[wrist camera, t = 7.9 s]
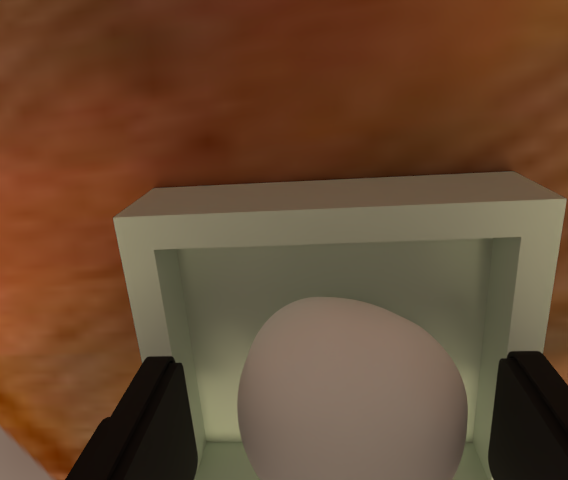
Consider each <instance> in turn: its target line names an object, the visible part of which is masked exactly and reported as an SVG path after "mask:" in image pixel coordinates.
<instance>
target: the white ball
mask: <svg viewBox="0 0 568 480" xmlns="http://www.w3.org/2000/svg"><path fill="white" fill-rule="evenodd" d="M237 413H238V424H239V430H240V435H241V439H242V442H243V446H244V449H245V451H246V454H247V457H248V459H249V461H250V463H251V465H252V467H253V469H254V471H255V472H256V474H257V476H258V477H259V479H260V480H452V479H453V477H454V476H455V473H456V471H457V469H458V466H459V464H460V461H461V458H462V454H463V451H464V446H465V441H466V434H467V419H468V402H467V395H466V390H465V386H464V383H463V380H462V377H461V375H460V373H459V371H458V369H457V367H456V365H455V363H454V362H453V360H452V359H451V357H450V356H449V354H448V353H447V352H446V351H445V349H444V348H443V347H442V346H441V345H440V344H439V343H438V342H437V341H436V340H435V339H434V338H433V337H432V336H431V335H430V334H429V333H428V332H427V331H425V330H424V329H423V328H421V327H420V326H418V325H417V324H415V323H413V322H411V321H409V320H407V319H405V318H403V317H401V316H399V315H397V314H395V313H393V312H390V311H388V310H386V309H384V308H381V307H378V306H376V305H373V304H369V303H366V302H362V301H358V300H353V299H347V298H336V297H309V298H304V299H300V300H297V301H294V302H292V303H290V304H288V305H286V306H284V307H283V308H281V309H280V310H278V311H277V312H276V313H274V314H273V315H272V316H271V317H270V318H269V319H268V320H267V321H266V322H265V324H264V325H263V326H262V327H261V329H260V330H259V332H258V333H257V335H256V337H255V339H254V341H253V343H252V345H251V348H250V350H249V353H248V356H247V359H246V361H245V364H244V367H243V370H242V374H241V378H240V383H239V389H238V399H237Z"/></svg>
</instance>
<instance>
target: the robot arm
mask: <svg viewBox="0 0 568 480" xmlns="http://www.w3.org/2000/svg"><path fill="white" fill-rule="evenodd" d="M488 464H489V469H490V472H491V475H492V477H493V480H568V385H567V384H566V383H565V381H564V380H563V379H562V378H561V376H560V375H559V374H558V373H557V371H556V370H555V369H554V367H553V366H552V365H551V364H550V362H549V361H548V360H547V359H546V357H545V356H544V355H543V354H542V353H541V352H540V351H511V352H509V353H508V355H507V358H502V359H500V361H499V365H498V373H497V381H496V390H495V399H494V407H493V416H492V424H491V433H490V441H489V450H488ZM197 465H198V452H197V446H196V440H195V434H194V428H193V422H192V416H191V410H190V404H189V398H188V392H187V386H186V380H185V374H184V368H183V365H182V363H176V362H175V359H174V357H172V356H149V357H146V359H145V360H144V362H143V363H142V365H141V367H140V368H139V370H138V372H137V373H136V375H135V377H134V378H133V380H132V382H131V383H130V385H129V387H128V388H127V390H126V392H125V393H124V395H123V397H122V398H121V400H120V402H119V403H118V405H117V407H116V409H115V410H114V412H113V414H112V415H111V417H107V418H105V419H103V420H102V422H101V423H100V424H99V426H98V427H97V429H96V430H95V432H94V434H93V435H92V437H91V439H90V440H89V442H88V443H87V445H86V447H85V448H84V450H83V452H82V453H81V455H80V456H79V458H78V460H77V461H76V463H75V465H74V466H73V468H72V469H71V471H70V473H69V474H68V476H67V478H66V479H65V480H194V478H195V475H196V471H197Z"/></svg>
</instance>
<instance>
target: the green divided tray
mask: <svg viewBox="0 0 568 480" xmlns="http://www.w3.org/2000/svg"><path fill="white" fill-rule="evenodd" d="M566 201H567V198H565V197H563V196H561V195H559V194H557V193H555V192H553V191H551V190H549V189H547V188H545V187H543V186H541V185H539V184H537V183H536V182H534V181H532V180H530V179H528V178H526V177H524V176H522V175H520V174H518V173H516V172H514V171H506V172H485V173H464V174H443V175H421V176H400V177H379V178H358V179H337V180H315V181H294V182H273V183H252V184H231V185H210V186H188V187H167V188H153V189H152V190H150V191H149V192H148V193H146V194H145V195H143V196H142V197H141V198H139V199H138V200H136V201H135V202H134V203H132V204H131V205H130V206H128V207H127V208H125V209H124V210H123V211H121V212H120V213H118V214H117V215H116V216H114V217H113V221H114V226H115V231H116V236H117V241H118V246H119V251H120V256H121V261H122V266H123V271H124V275H125V280H126V285H127V290H128V295H129V300H130V305H131V310H132V315H133V320H134V325H135V330H136V335H137V340H138V345H139V350H140V355H141V360H142V363H143V362H144V360H145V359H146V357H149V356H172V357H174V359H175V362H176V363H182V365H183V368H184V374H185V380H186V386H187V392H188V398H189V404H190V410H191V416H192V422H193V428H194V434H195V440H196V446H197V452H198V465H197V471H196V475H195V478H194V480H260V479H259V477H258V476H257V474H256V472H255V471H254V469H253V467H252V465H251V463H250V461H249V459H248V457H247V454H246V451H245V449H244V446H243V442H242V439H241V435H240V430H239V424H238V413H237V399H238V389H239V383H240V378H241V374H242V370H243V367H244V364H245V361H246V359H247V356H248V353H249V350H250V348H251V345H252V343H253V341H254V339H255V337H256V335H257V333H258V332H259V330H260V329H261V327H262V326H263V325H264V324H265V322H266V321H267V320H268V319H269V318H270V317H271V316H272V315H273V314H274V313H276V312H277V311H278V310H280V309H281V308H283V307H284V306H286V305H288V304H290V303H292V302H294V301H297V300H300V299H304V298H309V297H336V298H347V299H353V300H358V301H362V302H366V303H369V304H373V305H376V306H378V307H381V308H384V309H386V310H388V311H390V312H393V313H395V314H397V315H399V316H401V317H403V318H405V319H407V320H409V321H411V322H413V323H415V324H417V325H418V326H420V327H421V328H423V329H424V330H425V331H427V332H428V333H429V334H430V335H431V336H432V337H433V338H434V339H435V340H436V341H437V342H438V343H439V344H440V345H441V346H442V347H443V348H444V349H445V351H446V352H447V353H448V354H449V356H450V357H451V359H452V360H453V362H454V363H455V365H456V367H457V369H458V371H459V373H460V375H461V377H462V380H463V383H464V386H465V390H466V395H467V402H468V419H467V434H466V441H465V446H464V451H463V454H462V458H461V461H460V464H459V466H458V469H457V471H456V473H455V476H454V477H453V479H452V480H493V477H492V475H491V472H490V469H489V464H488V450H489V441H490V433H491V424H492V416H493V407H494V399H495V390H496V381H497V373H498V365H499V361H500V359H502V358H507V355H508V353H509V352H511V351H540V352H541V353H542V354H543V349H544V343H545V336H546V330H547V323H548V317H549V311H550V304H551V298H552V291H553V285H554V278H555V272H556V265H557V259H558V252H559V246H560V239H561V233H562V227H563V220H564V214H565V207H566Z"/></svg>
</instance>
